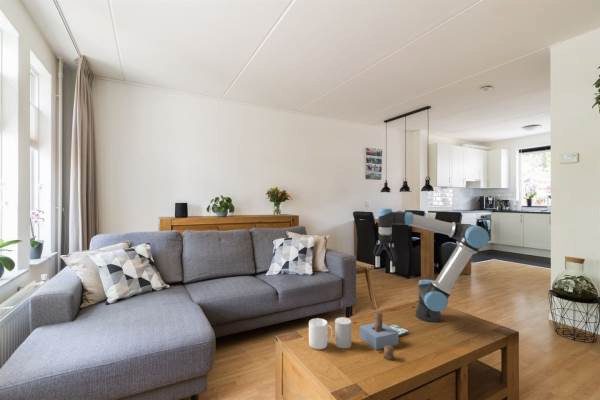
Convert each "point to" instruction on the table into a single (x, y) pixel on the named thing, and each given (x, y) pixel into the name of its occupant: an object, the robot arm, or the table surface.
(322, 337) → the mug
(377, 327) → the long dowel
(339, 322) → the cup
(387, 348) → the short dowel
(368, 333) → the socket block
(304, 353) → the table surface
